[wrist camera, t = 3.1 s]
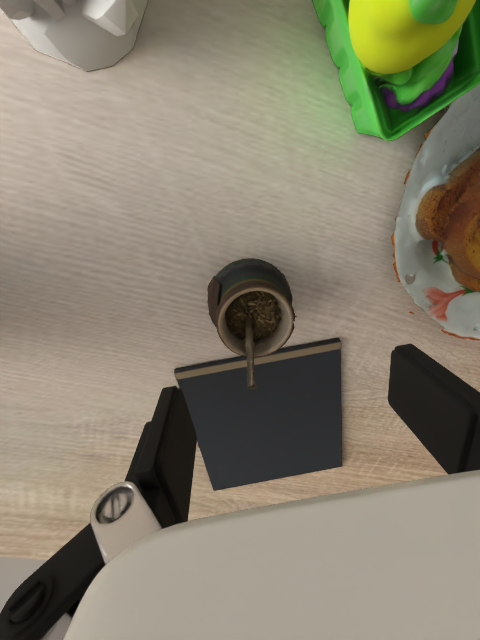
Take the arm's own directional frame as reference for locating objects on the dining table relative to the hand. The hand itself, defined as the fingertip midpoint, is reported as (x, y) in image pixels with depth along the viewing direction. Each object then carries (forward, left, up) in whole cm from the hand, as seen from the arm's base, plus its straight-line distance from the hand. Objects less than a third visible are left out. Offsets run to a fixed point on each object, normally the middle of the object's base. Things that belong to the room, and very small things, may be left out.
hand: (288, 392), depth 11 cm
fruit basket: (-16, +11, -15) cm, 25 cm away
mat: (+17, 0, -15) cm, 23 cm away
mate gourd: (0, 0, -15) cm, 15 cm away
